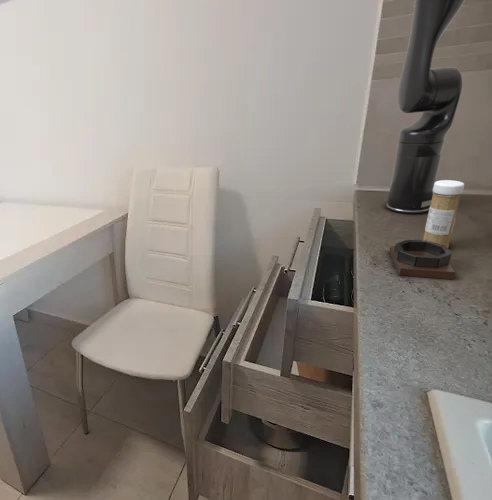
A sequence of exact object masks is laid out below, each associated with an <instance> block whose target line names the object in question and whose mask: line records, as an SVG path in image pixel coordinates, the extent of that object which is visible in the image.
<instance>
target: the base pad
mask: <svg viewBox="0 0 492 500" xmlns="http://www.w3.org/2000/svg"><path fill="white" fill-rule="evenodd" d="M389 255H390V258H391V259H392V262H393V264H394V267H395V269H396V272H397V273H398V276H400V277H401V276H403V277H414V278H415V277H416V278H417V277H418V278H427V279H429V278H430V279H440V280H454V279H455V275H456V271H455V269H454V268H453V266H452V265H451V264H450V261H451V257H452V252H451V250H450V249H449V247H448V248H447V247H446V246H444V245H441V244H437V243H434V242H431V241H425V240H423V239H421V240H420V239H405V240H402V241H400V242H397V243H395V245H390V247H389Z"/></svg>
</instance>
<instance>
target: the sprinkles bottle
mask: <svg viewBox="0 0 492 500" xmlns="http://www.w3.org/2000/svg"><path fill="white" fill-rule="evenodd" d="M464 189H465V183H464V182H463V181H459V180H453V179H441V180H436V182H435V183H434V187H433V196H432V201H431V205H430V209H429V211H428V214H427V219H426V222H425V227H424V233H423V238H422V240H425V241H431V242H434V243H437V244H441V245H444V246H446V247H447V248H448V249H449V248H450V241H451V236H452V233H453V230H454V226H455V223H456V216H457V212H458V207H459V204H460V200H461V196H462V194H463V193H464Z"/></svg>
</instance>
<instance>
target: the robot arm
mask: <svg viewBox="0 0 492 500" xmlns="http://www.w3.org/2000/svg"><path fill="white" fill-rule="evenodd" d="M465 2H466V0H414V2H413V10H412V11H413V12H412V19H411V26H410V33H409V37H408V43H407V49H406V52H405V57H404V61H403V66H402V69H401V72H400V78H399V81H398V87H397V97H396V98H397V105H398V108H399V110H400V111H401V112H403V113H405V114H414V113H421V115H420V117H419V118H417V119H416V120H415V121H414V122H412V123H410V124H408V125H407V126H405V127H403V128H402V129H401V130H400V131H399V133H398V138H397V144H396V150H395V157H394V161H393V162H394V163H393V167H392V173H391V179H390V180H391V181H390V186H389V191H388V197H387V202H386V209H388V210H390V211H392V212H396V213H402V214H423V213H429V209H430V205H431V201H432V197H433V187H434V183H435V182H437V178H438V173H439V170H440V165H441V160H442V154H443V150H444V146H445V142H446V137H447V134H448V133H449V131H450V130H451V128H452V127H453V124H454V120H455V116H456V113H457V109H458V106H459V103H460V100H461V97H462V93H463V92H462V91H463V85H464V81H463V74H462V72H461V70H460V69H459V68H457V67H455V66H440V67H432V66H433V59H434V55H435V51H436V48H437V46H438V44H439V41H440V39H441V37H442V36H443V34H444V33H445V31H446V30H447V28H448V27H449V26H450V24H451V23H452V21H453V20H454V19H455V18H456V16H457V15H458V13H459V12H460V10H461V9H462V7H463V5H464V4H465Z"/></svg>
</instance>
